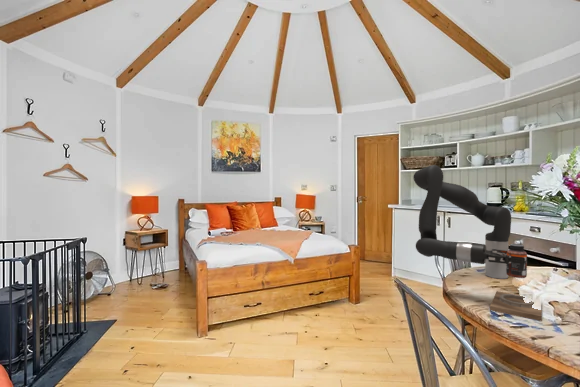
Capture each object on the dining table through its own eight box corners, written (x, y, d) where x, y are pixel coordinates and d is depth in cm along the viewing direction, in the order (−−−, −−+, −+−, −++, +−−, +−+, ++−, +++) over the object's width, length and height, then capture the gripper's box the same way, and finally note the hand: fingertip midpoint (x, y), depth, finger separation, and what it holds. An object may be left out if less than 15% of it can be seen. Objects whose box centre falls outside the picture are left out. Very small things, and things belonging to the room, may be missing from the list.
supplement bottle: (530, 279, 108) (531, 246, 108) (511, 278, 109) (511, 246, 109) (521, 274, 114) (522, 243, 114) (503, 273, 115) (503, 243, 115)
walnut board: (496, 294, 124) (496, 287, 124) (541, 302, 115) (541, 295, 115) (489, 310, 108) (490, 302, 108) (541, 320, 100) (541, 312, 100)
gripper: (467, 245, 115) (524, 252, 104) (474, 240, 126) (526, 245, 115) (467, 266, 115) (524, 274, 104) (474, 258, 126) (526, 265, 116)
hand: (525, 259), depth 110 cm, fingers closed on supplement bottle, 6 cm apart
